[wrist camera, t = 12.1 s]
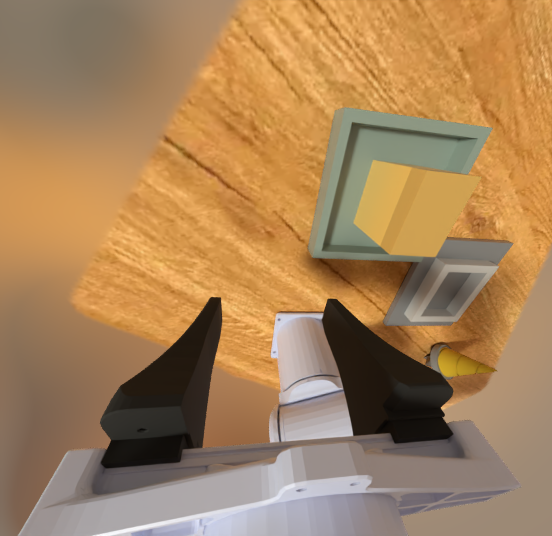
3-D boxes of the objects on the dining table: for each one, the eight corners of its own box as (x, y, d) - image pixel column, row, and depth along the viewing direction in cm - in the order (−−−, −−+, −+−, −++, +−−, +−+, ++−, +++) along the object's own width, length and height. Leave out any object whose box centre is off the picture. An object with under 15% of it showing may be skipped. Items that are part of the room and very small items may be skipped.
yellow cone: (409, 349, 37) (481, 360, 28) (426, 337, 39) (497, 344, 30) (420, 379, 37) (496, 399, 28) (436, 365, 39) (511, 380, 30)
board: (447, 321, 33) (459, 333, 31) (382, 321, 32) (391, 333, 30) (506, 240, 26) (527, 249, 24) (426, 235, 24) (441, 244, 22)
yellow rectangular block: (387, 225, 23) (435, 257, 17) (353, 223, 22) (389, 254, 16) (412, 164, 20) (482, 176, 14) (373, 159, 19) (427, 170, 13)
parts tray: (408, 253, 25) (421, 262, 23) (307, 248, 24) (312, 257, 22) (469, 128, 19) (492, 128, 17) (335, 110, 17) (345, 107, 15)
